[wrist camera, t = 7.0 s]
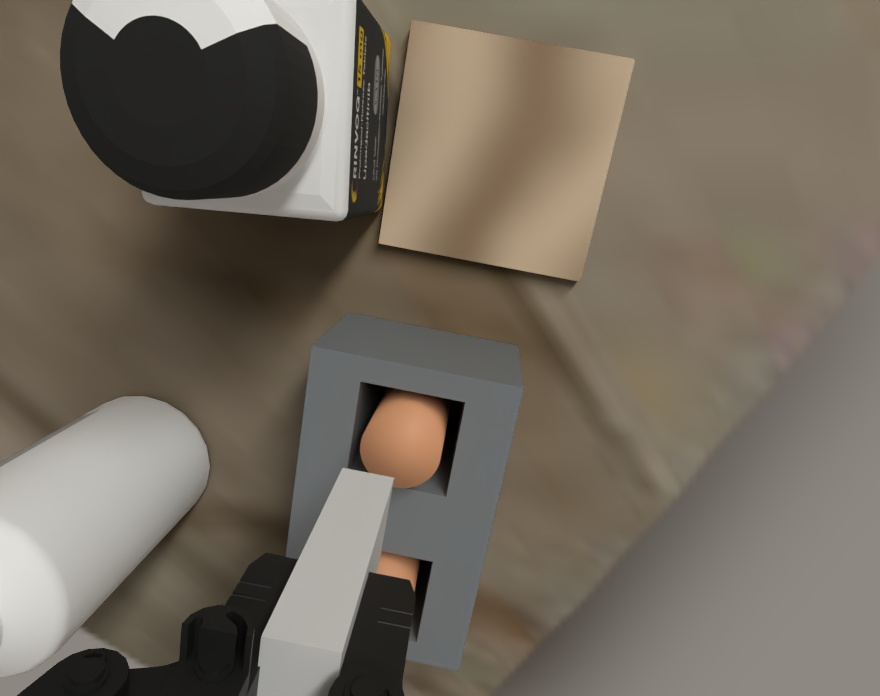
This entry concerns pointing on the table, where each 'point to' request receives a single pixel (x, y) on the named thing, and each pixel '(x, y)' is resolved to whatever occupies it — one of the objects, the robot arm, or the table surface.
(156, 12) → the medicine bottle
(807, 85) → the table surface
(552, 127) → the cork pad
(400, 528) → the grey plunger block
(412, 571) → the plunger
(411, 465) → the plunger
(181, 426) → the spray bottle
